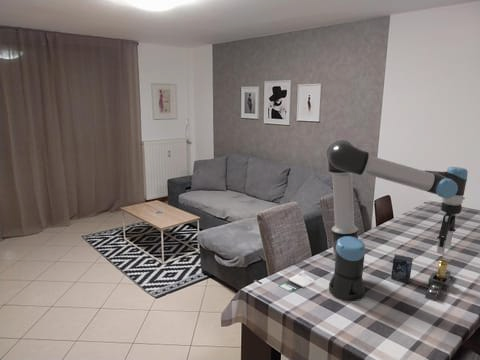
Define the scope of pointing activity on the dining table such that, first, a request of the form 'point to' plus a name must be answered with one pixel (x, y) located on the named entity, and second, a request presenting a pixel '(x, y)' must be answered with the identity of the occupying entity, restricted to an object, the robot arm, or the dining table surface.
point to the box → (401, 268)
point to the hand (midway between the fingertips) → (443, 248)
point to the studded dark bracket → (437, 286)
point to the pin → (441, 270)
